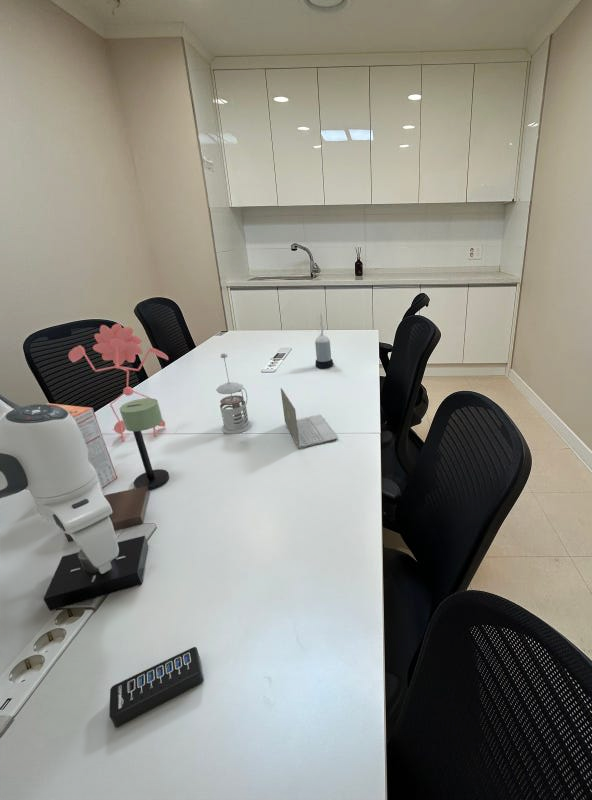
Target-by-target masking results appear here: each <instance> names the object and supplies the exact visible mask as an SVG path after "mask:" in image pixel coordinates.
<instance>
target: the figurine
mask: <svg viewBox="0 0 592 800" xmlns="http://www.w3.org/2000/svg"><path fill="white" fill-rule="evenodd" d="M133 334H134V329H133V328H132V327H130V326H124V327H122V324H121V323H118V322H117V323H115V324H113V325H112V326H111V328H110V327H109V326H107V325H105V324H101V325H100V327H99V333H95V334H94V340H95V341H96V342H97V343H96V344H94V345H93V346H92V349H93V351H95V352H97V353H99V354H101V358H102V361H106V362H107V361H113V362H112V363H113V364H114V365H112V366H109V367H104V368H103V367H102V368H98V369H96V368H95V366H94V365H93V363H92V361H91V360H90V358H89V357H88V355H87V354H86V350H85V347H83V346H82V345H77V346H75V347H73V348H72V349H71V350H70V351H69V352H68V359H69V360H70V361H71V362H72V363H73V364H74V363H76V362H77V361H80V360H81V359H82V358H83V357H85V359H86V361H87V363H88V364H89V366H90V367H91V369H92V370H93V371H94V373H97V372H101V371H106V370H110V369H111V370H112V369H120V370H123V371H125V372H126V387H124V388H123V389H122V393H121V394H120V395H119V396H118V397H117V398H115V399H114V400H112V401H111V403H109V406H110V408H111V409H112V412H113V414H114V415H115V417H116V419H117V422H116V423H115V424H114V426H113V429H112V431H114V432H115V433H117V434H120V435H121V437H120V438H121V442H125V436H124V432H125V431H127V430H126V428H125V425H124V422H123V419H121V420H120V418H119V416H118V414H117V413H116V410H115V409H114V406H113V405H112V404H114V403H115V402H116V401H117V400H119V399H120V398H121V397H123V395H124V396H126V397H127V396H128V397H129V396H132V395H133V394H134V393H135V394H137V395H139V396H142V397H144V398H150V397H149V396H147V395H145V394H142V393H140V392H137V391H135V390H134V389H133V388H132V387H131V386H129V380H130V371H134V372H135V371H136V372H140V370H141V369H142V367H143V365H144V363H145V362H146V360H147V358H148V356H149V355H150V353H152V354H154V355H155V356H157V357H159V358H162V359H164V360H166V361H169V356H168V355H167V354H166V353H164V352H163V351H161V350H159V349H157V348H154V347H151V346H149V347H148V350H147V352H146V354H145V355H144V357H143V359H142V361H141V363H140V365H139V366H138V368H133V367H126V366H121V365H123V364H124V363H125V361H126V362H128V363H135V361H136V355H142V354H143V350H142V348H141V347H140V344H141V343H142V339H141V338H140V337H139V336H137V335H133ZM162 419H163V421H162V422H161V423H160V424H159V425H157V427H163V428H164V427H165V426H166V421H165V420H164V418H163V417H162ZM152 429H153V430H152V431H153V436H154V437H157V432H156V427H153V428H152ZM176 433H177V430H176V432H174V434H176Z"/></svg>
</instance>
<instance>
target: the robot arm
mask: <svg viewBox="0 0 592 800" xmlns="http://www.w3.org/2000/svg"><path fill="white" fill-rule="evenodd" d="M50 404H51V403H50ZM50 404H47V403H39V404H38V403H37V404H29V405H24V406H21V405H19V404H17V403H15V402H13V401H12V400H9V399H8V398H6V397H5V396H3V395H2V394H0V499H3V498H7V497H9V496H12V495H16V494H18V493H21V492H22V491H24V490H27V491H28V492H29V493H30V495H31V497H32V499H33V501H34V504H35V506H36V508H37V510H38V513H39V515H40V517H41V518H42V519H43V520H45V521H49V522H50V523H52V524H54V525H56V526H57V527H59V528H60V529H61V530H62V531H63V532H65V533H67V534H70V536H71V537H72V538H73V539H74V541H73V542H75V544H76V545H77V546H78V547H79V549H80V550H82V551H83V552H84V554H85V555H86V556H87V558H88V559H89V560H90V562H91V563H92V565H93V566H94V567H96V568H97V569H98V570H99V572H100V573H101V574H103V573H105V572H107V571H109V570H110V569H111V568H112V566H111V563H110V561H111V560H113V559H115V558H116V557H117V556H118V554H119V547H118V543H117V542H118V539H117V535H116V531H114V528H113V525H112V522H111V519H110V517H109V515H110V514H112V509H111V506H110V504H109V502H108V500H107V499H106V497H105V496H104V495H105V492H104V490H103V489H104V488H102V487H101V484H100V481H99V479H98V476H97V473H96V470H95V468H94V467H93V466H92V465H91V463H90V462H89V459H88V448H87V446H86V443H85V440H84V438H83V436H82V434H81V431H80V429H79V427H78V425H77V423H76V422H75V420H74V418H73V417H72V416H71V414H70V413H69V412H68V411H66V410H65V409H64V408H62V407H59V406H55V405H50Z"/></svg>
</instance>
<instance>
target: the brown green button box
mask: <svg viewBox="0 0 592 800" xmlns="http://www.w3.org/2000/svg"><path fill="white" fill-rule="evenodd" d="M150 494H151V492H150V491H149V488H148V486H145V487H140V488H135V487H134V488H131V489H127V490H122V491H117V492H112V493H108V494H104V496H105V497H106V499H107V500H108V502H109V504H110V506H111V509H112V514H110V515H109V517H110V519H111V522H112V525H113V528H114V531H115V532H116V531H119V530H124V529H127V528H132V527H135V526H140V525H144V522H145V519H146V518H145V517H146V512H147V508H148V504H149V498H150ZM64 537H65V538H66V541H67V542H68V543H70V542H75V541H74V539H73V538H72V537H71V536H70V534H67V533H66V532H65V533H64Z"/></svg>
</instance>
